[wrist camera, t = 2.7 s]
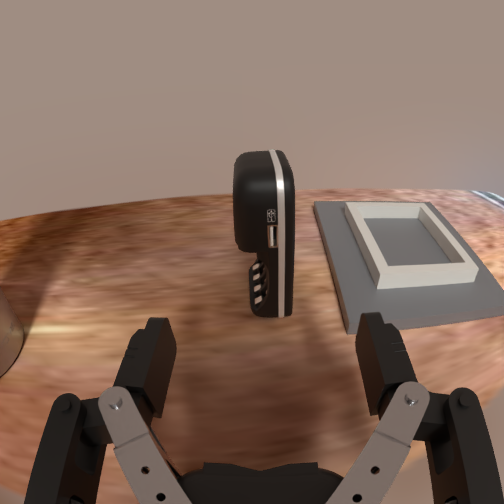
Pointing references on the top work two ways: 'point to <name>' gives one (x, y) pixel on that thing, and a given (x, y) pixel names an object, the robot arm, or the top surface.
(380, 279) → the holder
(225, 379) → the top surface
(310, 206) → the top surface
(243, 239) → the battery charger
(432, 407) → the robot arm
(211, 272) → the top surface
